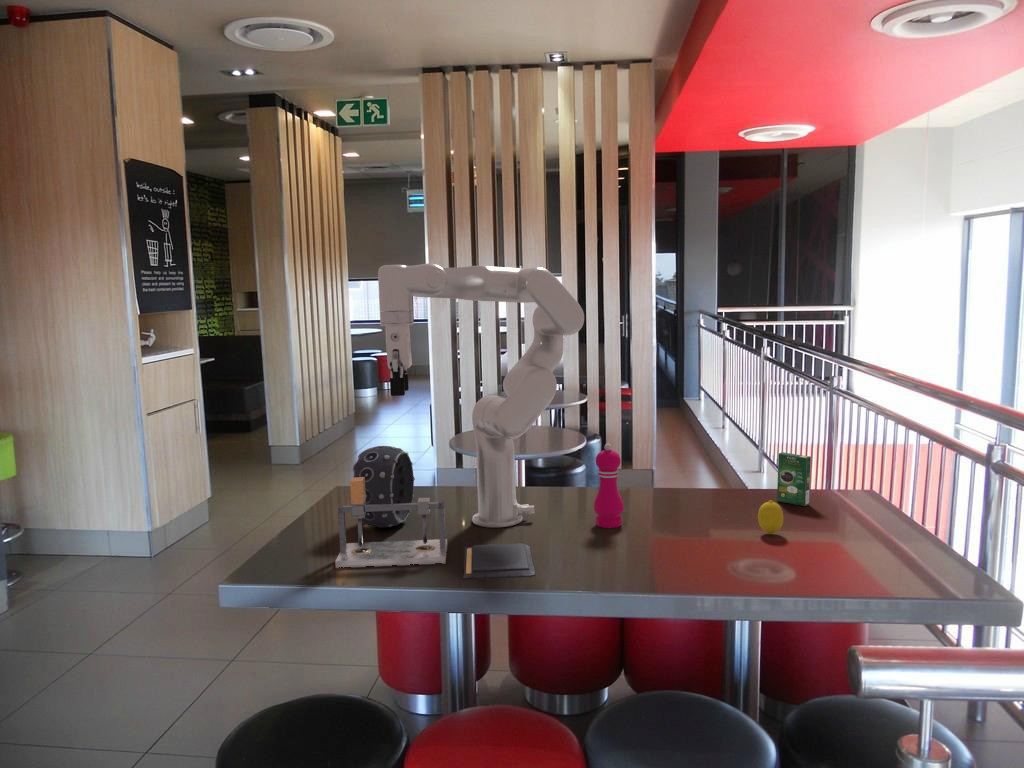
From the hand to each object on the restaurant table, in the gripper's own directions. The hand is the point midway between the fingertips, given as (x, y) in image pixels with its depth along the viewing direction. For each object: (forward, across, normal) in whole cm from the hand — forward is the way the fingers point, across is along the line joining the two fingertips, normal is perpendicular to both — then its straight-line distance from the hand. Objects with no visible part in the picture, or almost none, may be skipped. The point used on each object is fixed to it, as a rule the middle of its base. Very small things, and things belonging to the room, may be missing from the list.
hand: (399, 393), depth 177 cm
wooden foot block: (+32, -14, +8) cm, 36 cm away
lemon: (+34, -10, -84) cm, 91 cm away
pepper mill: (+34, +3, -49) cm, 60 cm away
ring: (+34, +10, +6) cm, 36 cm away
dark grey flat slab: (+35, -20, -21) cm, 46 cm away
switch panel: (+34, -14, +2) cm, 37 cm away
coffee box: (+34, +15, -100) cm, 107 cm away
